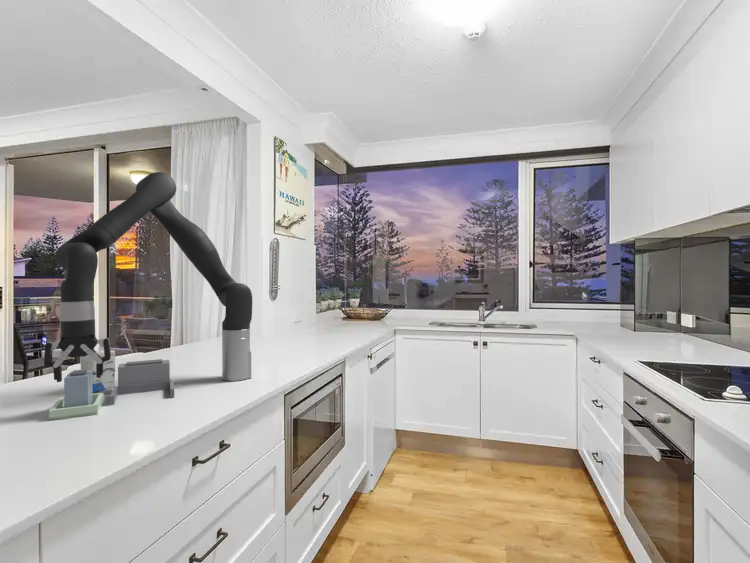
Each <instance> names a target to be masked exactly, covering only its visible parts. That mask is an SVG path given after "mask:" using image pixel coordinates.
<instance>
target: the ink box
mask: <svg viewBox="0 0 750 563" xmlns="http://www.w3.org/2000/svg"><path fill="white" fill-rule="evenodd" d="M95 351H96V352H97V353H98V354H99V355H100V356H101V357H104V356H105V355H104V349H100V350H95ZM110 352H111V358H110V360H108V361H105V362H104V363H103V374H102V375H101V376H100V378H97V376H96V364H97V362H96V361H95V360H94V359H93V358H91V357H90V356H89V355H87V356H85V357H80V370H85V369H87V370H92V393H97V392H99V391H100V392H101V391H103V390H107V389H110V388H114V387H116V350H112V349H110Z"/></svg>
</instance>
